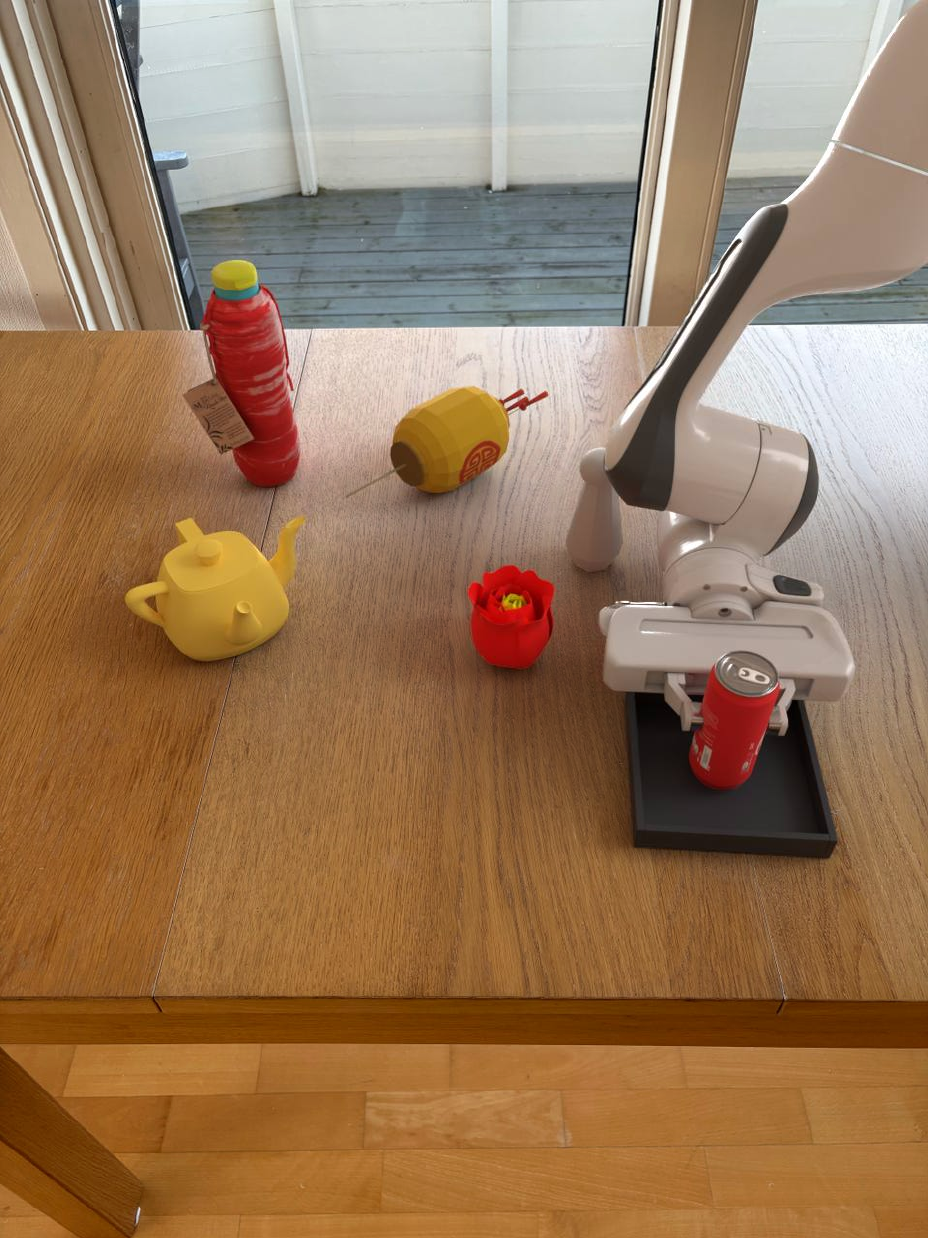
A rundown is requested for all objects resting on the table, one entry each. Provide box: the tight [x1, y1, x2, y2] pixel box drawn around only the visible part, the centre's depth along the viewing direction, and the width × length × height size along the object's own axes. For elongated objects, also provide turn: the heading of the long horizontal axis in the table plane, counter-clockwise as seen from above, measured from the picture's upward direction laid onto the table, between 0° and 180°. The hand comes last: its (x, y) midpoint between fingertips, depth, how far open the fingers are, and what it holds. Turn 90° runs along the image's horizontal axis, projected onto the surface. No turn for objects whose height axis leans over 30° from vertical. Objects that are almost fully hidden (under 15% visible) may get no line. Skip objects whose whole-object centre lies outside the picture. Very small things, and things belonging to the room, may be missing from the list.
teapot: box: [124, 515, 307, 662], centre depth 90 cm, size 14×13×10 cm
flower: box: [467, 564, 556, 670], centre depth 87 cm, size 8×8×8 cm
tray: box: [623, 691, 839, 859], centre depth 79 cm, size 15×15×2 cm
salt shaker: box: [565, 447, 624, 573], centre depth 95 cm, size 6×6×13 cm
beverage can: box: [689, 650, 780, 791], centre depth 75 cm, size 5×5×12 cm
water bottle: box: [181, 259, 302, 488], centre depth 102 cm, size 12×8×25 cm, turn 132°
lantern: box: [345, 385, 549, 499], centre depth 107 cm, size 10×10×30 cm
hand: (735, 728), depth 74 cm, fingers closed on beverage can, 5 cm apart
